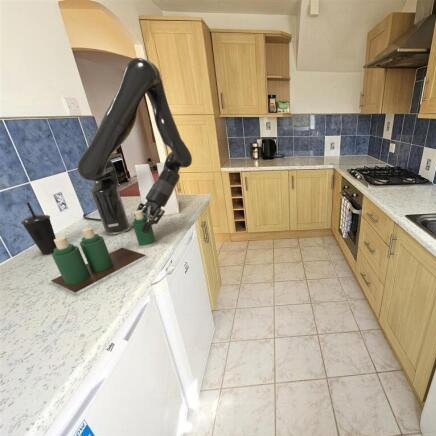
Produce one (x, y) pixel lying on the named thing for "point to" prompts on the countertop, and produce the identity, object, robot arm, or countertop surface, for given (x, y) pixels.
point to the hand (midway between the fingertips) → (139, 230)
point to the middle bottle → (95, 251)
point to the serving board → (119, 261)
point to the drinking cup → (40, 231)
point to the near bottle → (69, 262)
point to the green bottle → (138, 225)
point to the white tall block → (147, 182)
